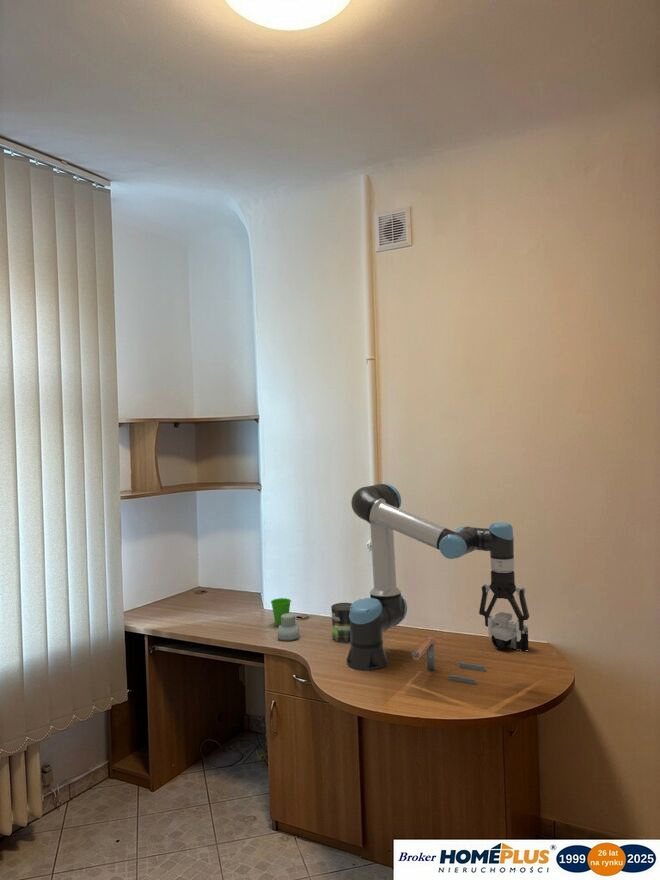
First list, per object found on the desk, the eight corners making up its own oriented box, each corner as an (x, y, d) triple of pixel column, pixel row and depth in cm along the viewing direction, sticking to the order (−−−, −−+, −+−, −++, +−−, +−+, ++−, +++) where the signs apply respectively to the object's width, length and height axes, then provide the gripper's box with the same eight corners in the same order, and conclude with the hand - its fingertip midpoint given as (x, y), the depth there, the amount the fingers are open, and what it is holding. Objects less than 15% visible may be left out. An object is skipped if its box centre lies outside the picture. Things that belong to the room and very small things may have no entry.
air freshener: (298, 643, 245) (297, 619, 245) (277, 644, 245) (277, 619, 245) (299, 634, 256) (298, 610, 256) (279, 635, 256) (278, 611, 256)
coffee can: (339, 646, 240) (338, 611, 240) (327, 639, 249) (326, 605, 249) (362, 641, 245) (361, 607, 244) (349, 634, 254) (348, 601, 253)
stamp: (522, 639, 199) (521, 614, 199) (511, 644, 195) (510, 618, 195) (498, 633, 206) (497, 608, 206) (487, 638, 202) (486, 613, 202)
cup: (294, 627, 265) (293, 602, 265) (274, 630, 262) (273, 605, 262) (288, 621, 273) (287, 597, 273) (269, 624, 270) (268, 599, 270)
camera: (478, 643, 239) (478, 618, 238) (496, 638, 244) (495, 613, 244) (514, 657, 224) (513, 630, 224) (532, 651, 229) (531, 625, 229)
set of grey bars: (418, 677, 209) (417, 649, 209) (430, 663, 220) (429, 637, 220) (475, 687, 200) (474, 658, 199) (485, 672, 211) (484, 645, 210)
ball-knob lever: (426, 640, 216) (426, 633, 216) (436, 641, 214) (436, 634, 214) (409, 661, 197) (408, 653, 197) (419, 662, 196) (419, 655, 196)
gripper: (467, 570, 202) (469, 637, 202) (533, 575, 192) (535, 646, 192) (473, 565, 209) (475, 630, 209) (538, 570, 198) (540, 638, 199)
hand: (504, 638), depth 201 cm, fingers closed on stamp, 8 cm apart
